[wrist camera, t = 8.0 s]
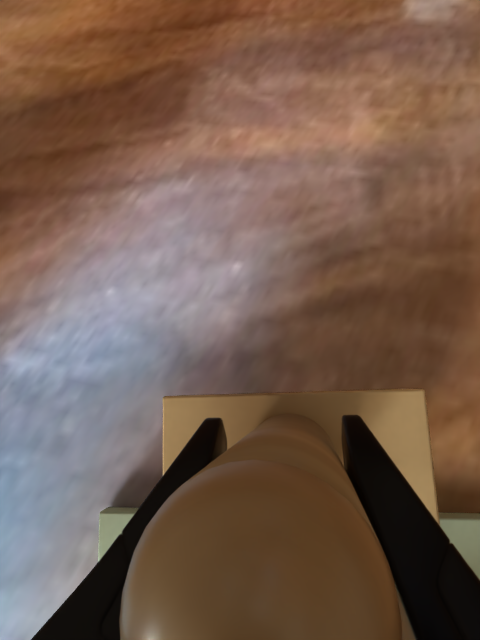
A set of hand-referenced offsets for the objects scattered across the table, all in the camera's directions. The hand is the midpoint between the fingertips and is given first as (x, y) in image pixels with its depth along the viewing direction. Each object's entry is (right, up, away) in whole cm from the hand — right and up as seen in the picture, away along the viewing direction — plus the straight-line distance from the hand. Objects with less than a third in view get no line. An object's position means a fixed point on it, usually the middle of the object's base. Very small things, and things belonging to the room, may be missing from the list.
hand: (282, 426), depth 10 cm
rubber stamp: (+1, -2, +6) cm, 7 cm away
